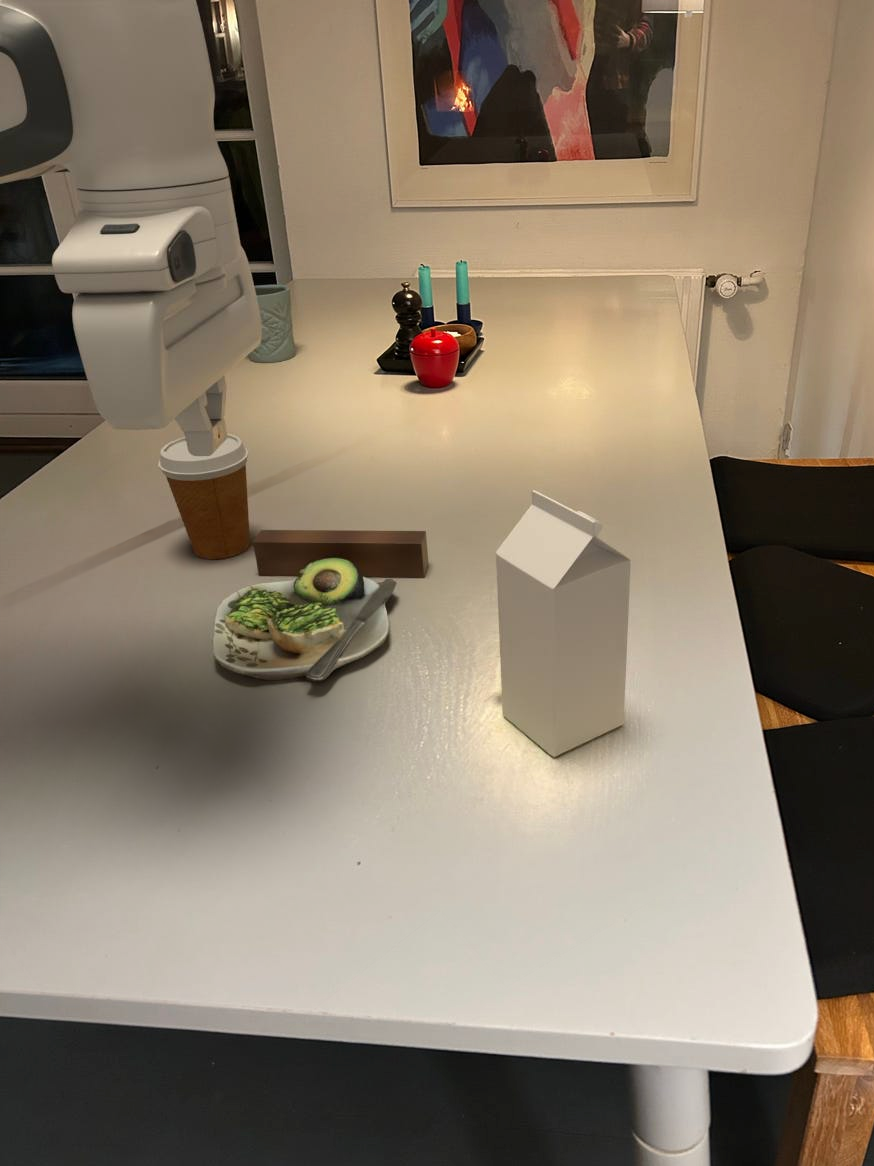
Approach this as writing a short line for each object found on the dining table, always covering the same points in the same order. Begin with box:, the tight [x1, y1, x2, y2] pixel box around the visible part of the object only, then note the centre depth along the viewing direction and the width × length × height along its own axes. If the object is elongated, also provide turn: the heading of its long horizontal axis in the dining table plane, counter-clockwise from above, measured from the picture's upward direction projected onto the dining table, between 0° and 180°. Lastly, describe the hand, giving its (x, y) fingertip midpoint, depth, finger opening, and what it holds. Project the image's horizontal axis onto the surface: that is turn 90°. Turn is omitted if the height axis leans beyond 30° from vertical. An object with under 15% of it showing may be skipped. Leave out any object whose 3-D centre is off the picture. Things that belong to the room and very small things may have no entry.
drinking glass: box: [248, 284, 296, 364], centre depth 174 cm, size 10×10×12 cm
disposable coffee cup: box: [157, 433, 251, 560], centre depth 105 cm, size 10×10×12 cm
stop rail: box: [252, 529, 430, 578], centre depth 101 cm, size 18×3×4 cm, turn 84°
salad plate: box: [212, 558, 398, 682], centre depth 88 cm, size 19×18×5 cm
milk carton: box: [495, 490, 631, 758], centre depth 72 cm, size 7×7×19 cm
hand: (209, 448), depth 65 cm, fingers closed
